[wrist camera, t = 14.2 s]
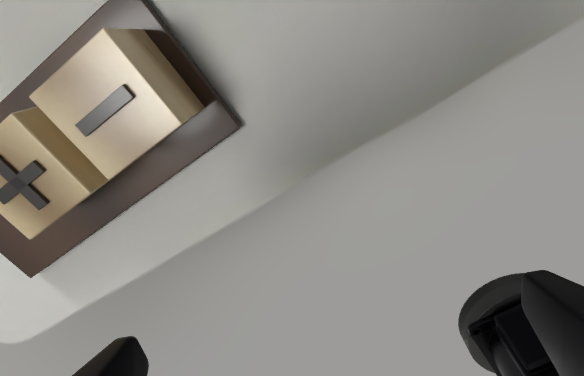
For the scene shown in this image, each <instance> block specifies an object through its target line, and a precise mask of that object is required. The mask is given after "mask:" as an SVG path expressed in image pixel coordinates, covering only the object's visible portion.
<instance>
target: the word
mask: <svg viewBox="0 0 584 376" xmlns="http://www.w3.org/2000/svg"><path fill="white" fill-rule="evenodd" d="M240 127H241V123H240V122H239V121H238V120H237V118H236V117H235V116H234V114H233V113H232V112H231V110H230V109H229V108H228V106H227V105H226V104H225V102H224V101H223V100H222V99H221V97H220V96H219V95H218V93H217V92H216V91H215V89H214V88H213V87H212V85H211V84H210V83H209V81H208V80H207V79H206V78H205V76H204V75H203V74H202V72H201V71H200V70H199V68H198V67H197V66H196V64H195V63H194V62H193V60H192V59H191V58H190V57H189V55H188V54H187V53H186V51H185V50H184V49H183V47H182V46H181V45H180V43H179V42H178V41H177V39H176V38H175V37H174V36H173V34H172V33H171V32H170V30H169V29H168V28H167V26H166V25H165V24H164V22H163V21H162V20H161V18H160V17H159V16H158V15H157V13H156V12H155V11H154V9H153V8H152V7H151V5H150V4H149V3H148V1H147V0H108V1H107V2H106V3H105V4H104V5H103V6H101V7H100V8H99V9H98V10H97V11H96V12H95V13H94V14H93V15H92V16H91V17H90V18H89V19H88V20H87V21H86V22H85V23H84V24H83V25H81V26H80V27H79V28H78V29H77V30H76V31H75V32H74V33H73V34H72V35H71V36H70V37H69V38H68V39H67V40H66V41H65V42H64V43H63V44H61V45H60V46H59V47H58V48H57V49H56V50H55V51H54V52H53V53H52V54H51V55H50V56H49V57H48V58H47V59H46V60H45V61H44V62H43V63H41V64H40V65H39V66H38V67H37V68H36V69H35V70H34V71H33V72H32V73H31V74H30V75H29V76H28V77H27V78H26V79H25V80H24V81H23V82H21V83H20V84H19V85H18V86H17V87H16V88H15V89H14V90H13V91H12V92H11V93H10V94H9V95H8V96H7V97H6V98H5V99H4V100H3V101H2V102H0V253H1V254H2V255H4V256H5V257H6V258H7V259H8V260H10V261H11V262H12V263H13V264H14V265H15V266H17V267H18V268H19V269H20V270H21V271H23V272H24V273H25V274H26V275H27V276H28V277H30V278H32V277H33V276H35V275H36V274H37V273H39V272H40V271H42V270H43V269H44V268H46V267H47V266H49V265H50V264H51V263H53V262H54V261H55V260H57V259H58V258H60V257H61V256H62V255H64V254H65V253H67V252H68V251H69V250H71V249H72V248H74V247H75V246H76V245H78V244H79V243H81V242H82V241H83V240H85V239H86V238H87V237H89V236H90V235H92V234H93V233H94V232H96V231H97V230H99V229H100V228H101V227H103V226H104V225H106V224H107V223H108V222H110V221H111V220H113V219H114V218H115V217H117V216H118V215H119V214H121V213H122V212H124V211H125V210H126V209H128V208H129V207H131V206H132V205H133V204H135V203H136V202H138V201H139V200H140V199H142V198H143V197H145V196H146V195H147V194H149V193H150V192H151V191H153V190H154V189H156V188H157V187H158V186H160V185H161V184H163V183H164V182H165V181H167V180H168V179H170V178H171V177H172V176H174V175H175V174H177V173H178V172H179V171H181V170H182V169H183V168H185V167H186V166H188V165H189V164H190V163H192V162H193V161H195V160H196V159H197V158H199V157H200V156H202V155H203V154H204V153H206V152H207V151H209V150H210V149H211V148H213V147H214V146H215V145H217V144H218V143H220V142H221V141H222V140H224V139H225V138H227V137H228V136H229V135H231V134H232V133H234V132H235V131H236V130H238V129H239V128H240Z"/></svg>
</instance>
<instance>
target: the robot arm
mask: <svg viewBox="0 0 584 376" xmlns="http://www.w3.org/2000/svg"><path fill="white" fill-rule="evenodd" d="M476 329H477V330H476ZM467 330H468V332H469V334H470V335H471V337H472V338H473V340H474V341H475V343H476V344H477V346H478V347H479V349H480V350H481V352H482V353H483V355H484V356H485V358H486V359H487V361H488V362H489V364H490V365H491V367H492V368H493V370H494V371H495V373H496V374H497V376H584V286H581V285H579V284H577V283H574V282H572V281H570V280H567V279H565V278H563V277H560V276H558V275H556V274H554V273H551V272H549V271H546V270H539V271H533V272H527V273H525V274H524V275H523V277H522V301H520V302H518V303H516V304H513V305H511V306H509V307H507V308H504V309H502V310H500V311H498V312H495V313H493V314H491V315H489V316H486V317H484V318H482V319H480V320H477V321H475V322H473V323H471V324H469V325H468V327H467ZM148 367H149V365H148V359H147V357H146V355H145V353H144V351H143V350H142V348H141V346H140V344H139V342H138V340H137V339H136V338H135V337H133V336H128V337H122V338H118V339H116V340H114V341H113V342H112V343H111V344H109V345H108V346H107V347H106V348H105V349H103V350H102V351H101V352H100V353H99V354H97V355H96V356H95V357H94V358H93V359H91V360H90V361H89V362H88V363H87V364H85V365H84V366H83V367H82V368H81V369H79V370H78V371H77V372H76V373H75V374H74V375H72V376H147V373H148Z"/></svg>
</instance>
